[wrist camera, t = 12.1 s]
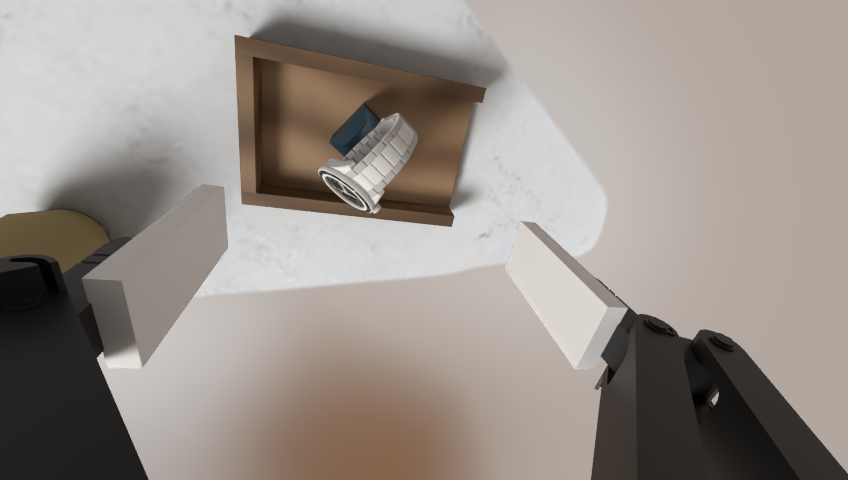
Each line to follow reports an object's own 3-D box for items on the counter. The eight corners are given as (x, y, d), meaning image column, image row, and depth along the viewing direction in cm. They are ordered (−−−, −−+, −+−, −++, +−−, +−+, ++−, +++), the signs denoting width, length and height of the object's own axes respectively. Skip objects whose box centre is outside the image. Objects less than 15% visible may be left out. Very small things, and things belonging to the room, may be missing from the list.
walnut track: (248, 37, 28) (234, 34, 25) (474, 86, 33) (485, 88, 30) (252, 191, 34) (241, 203, 31) (444, 213, 38) (451, 226, 35)
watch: (317, 150, 32) (299, 188, 22) (377, 87, 30) (385, 99, 21) (361, 190, 35) (362, 239, 25) (419, 134, 33) (443, 163, 23)
